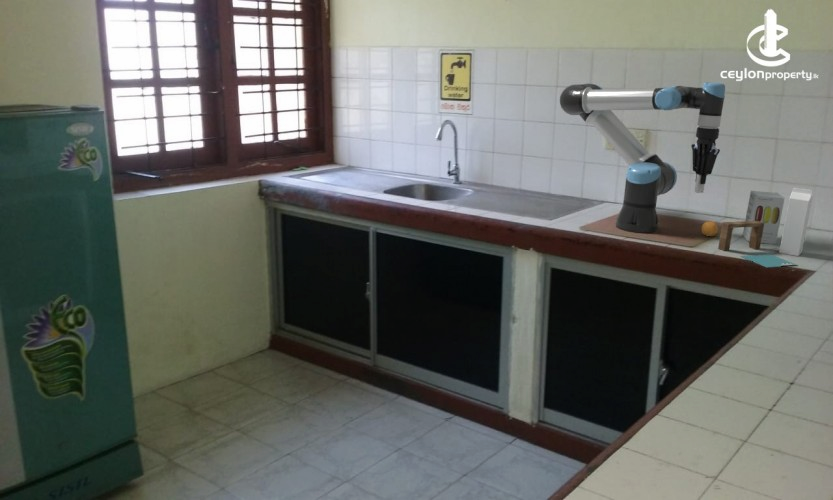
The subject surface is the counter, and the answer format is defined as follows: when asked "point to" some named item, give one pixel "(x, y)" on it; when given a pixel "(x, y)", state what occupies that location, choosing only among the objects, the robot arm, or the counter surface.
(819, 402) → the counter surface
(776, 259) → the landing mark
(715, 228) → the ball
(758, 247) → the bridge
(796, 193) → the milk
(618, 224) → the robot arm
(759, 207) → the supplement box
